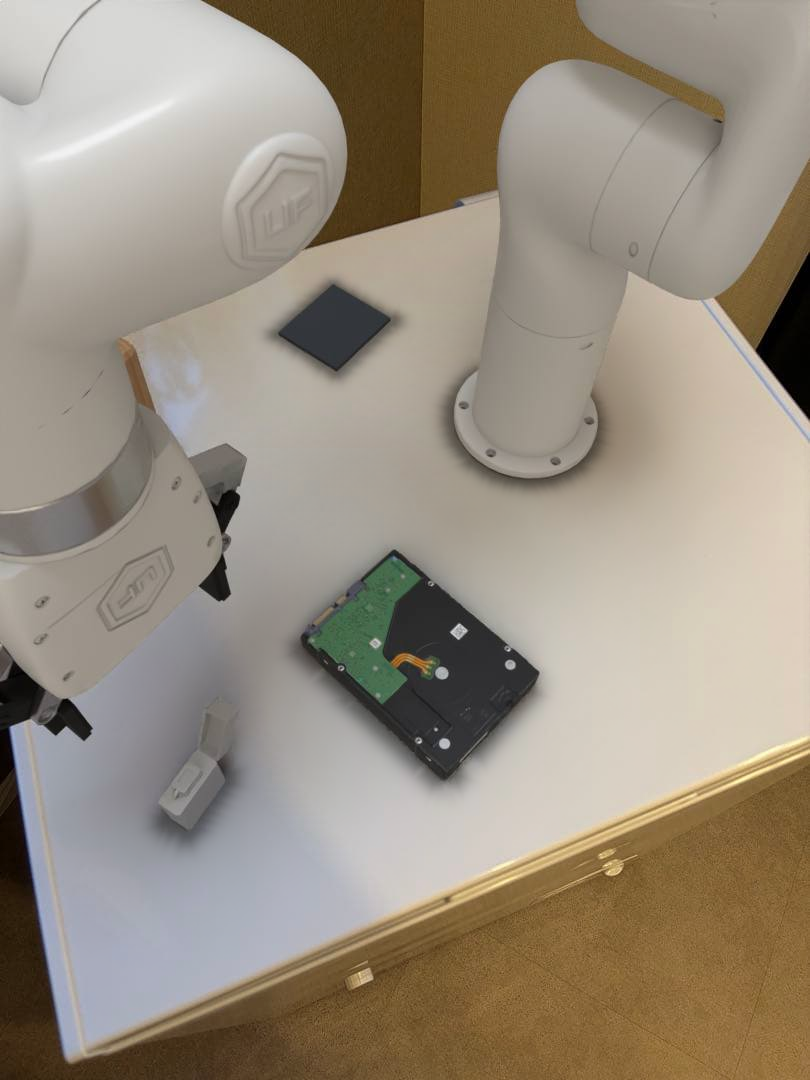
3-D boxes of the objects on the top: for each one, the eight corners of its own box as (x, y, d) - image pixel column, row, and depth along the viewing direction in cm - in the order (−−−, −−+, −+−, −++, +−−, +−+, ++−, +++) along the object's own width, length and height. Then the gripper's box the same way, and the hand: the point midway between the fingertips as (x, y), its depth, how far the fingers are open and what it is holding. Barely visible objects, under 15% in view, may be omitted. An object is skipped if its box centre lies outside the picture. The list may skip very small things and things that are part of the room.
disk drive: (536, 683, 66) (392, 562, 71) (543, 670, 64) (393, 544, 69) (445, 785, 62) (298, 648, 67) (448, 774, 60) (295, 634, 65)
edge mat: (333, 286, 86) (333, 283, 86) (390, 320, 84) (390, 317, 84) (278, 334, 83) (278, 331, 82) (336, 371, 81) (336, 368, 80)
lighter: (190, 831, 60) (167, 802, 53) (169, 818, 60) (144, 787, 54) (252, 744, 63) (238, 705, 56) (232, 731, 64) (216, 692, 57)
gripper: (-104, 697, 27) (60, 829, 41) (283, 360, 34) (305, 574, 49) (-252, 559, 29) (-45, 731, 43) (143, 270, 36) (205, 501, 51)
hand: (140, 648), depth 46 cm, fingers open, 9 cm apart
